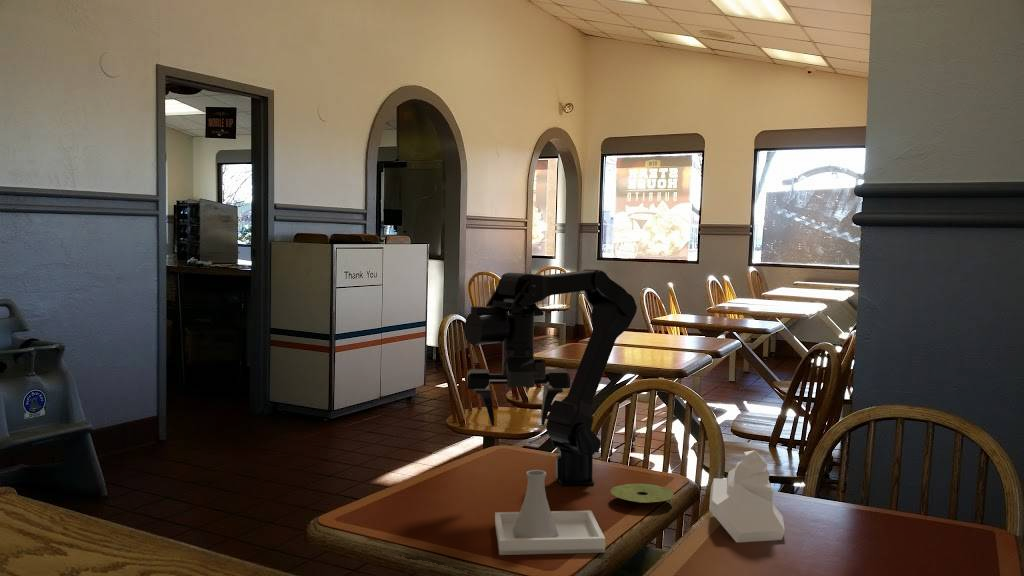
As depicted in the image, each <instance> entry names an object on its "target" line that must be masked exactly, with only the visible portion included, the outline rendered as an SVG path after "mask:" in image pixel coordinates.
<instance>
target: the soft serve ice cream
mask: <svg viewBox="0 0 1024 576" xmlns="http://www.w3.org/2000/svg"><path fill="white" fill-rule="evenodd" d="M770 475H771V474H770V472H769V470H768V464H767V462H766V461H765V460H764V458H763V457H762V456H761V455H760V453H759V452H758V451H757V450H755V449H754V450H749V451H744V452H743V455H742V460H740V461H738V462H737V463H736V465H735V467H734V468H732V469H731V470H729V471H728V473H727V478H717V477H716V478H713V480H712V483H711V486H710V493H709V494H710V496H709V511H710V513H711V514H712V515H713V517H715V519H716V520H717V521H718V523H719V524H721V526H722V527H723V528H724V529H725V531H726V532H727V534H728V535H729V536H730V537H731V538H732V539H733V540H734V541H735V543H750V542H752V543H753V542H768V541H770V542H771V541H782V540H783V537H784V534H785V524H784V517H783V515H782V514H781V512H780V511H779V510H778V509H777V507H776V506H775V505H774V503H773V495H774V491H773V489H772V486H771V482H770V480H769V478H770Z"/></svg>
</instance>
